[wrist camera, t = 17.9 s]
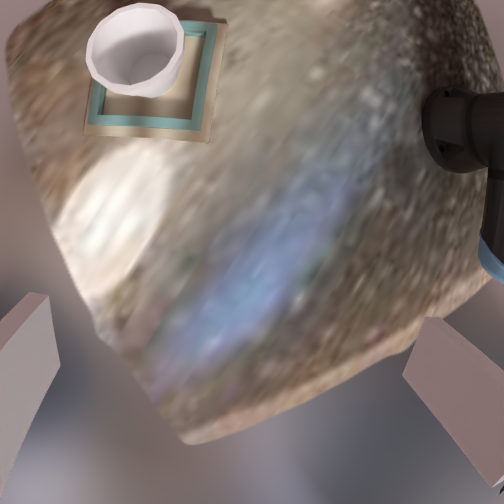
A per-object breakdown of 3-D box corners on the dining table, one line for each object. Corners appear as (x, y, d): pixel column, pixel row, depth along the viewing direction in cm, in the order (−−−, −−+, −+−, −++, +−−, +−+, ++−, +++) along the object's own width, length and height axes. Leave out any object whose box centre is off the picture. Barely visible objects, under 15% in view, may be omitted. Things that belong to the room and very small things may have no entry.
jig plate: (227, 26, 35) (229, 17, 32) (208, 143, 40) (209, 142, 37) (107, 21, 32) (101, 12, 29) (85, 135, 37) (76, 134, 34)
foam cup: (141, 34, 33) (119, -8, 21) (202, 58, 36) (202, 20, 23) (106, 95, 35) (69, 74, 23) (167, 120, 37) (151, 106, 25)
